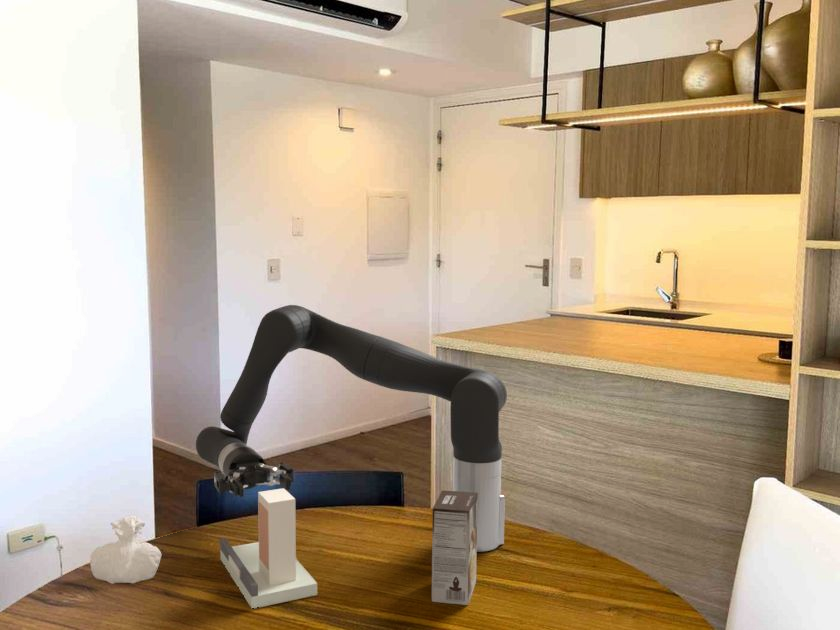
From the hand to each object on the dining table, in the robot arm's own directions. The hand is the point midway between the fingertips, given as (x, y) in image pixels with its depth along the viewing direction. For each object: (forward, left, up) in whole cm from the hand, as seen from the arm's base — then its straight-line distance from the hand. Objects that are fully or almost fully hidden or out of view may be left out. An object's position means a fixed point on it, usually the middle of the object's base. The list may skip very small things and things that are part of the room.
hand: (265, 488), depth 142 cm
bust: (+23, -4, -14) cm, 27 cm away
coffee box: (-25, +26, -14) cm, 38 cm away
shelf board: (+2, +6, -14) cm, 15 cm away
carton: (+1, +11, -12) cm, 16 cm away
